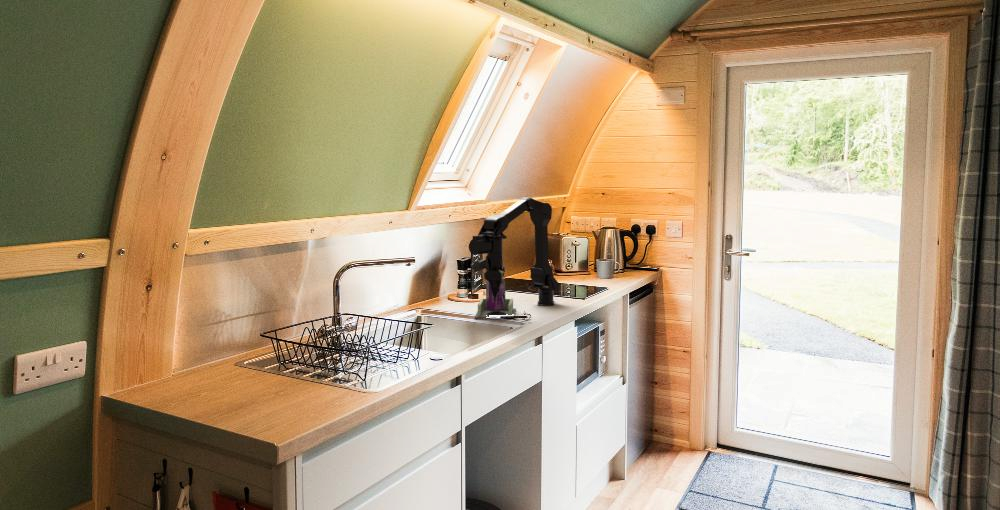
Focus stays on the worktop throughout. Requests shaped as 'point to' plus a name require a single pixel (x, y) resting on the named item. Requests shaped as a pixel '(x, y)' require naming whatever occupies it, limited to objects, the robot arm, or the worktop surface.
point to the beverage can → (495, 298)
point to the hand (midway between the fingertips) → (495, 294)
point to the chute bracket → (483, 312)
